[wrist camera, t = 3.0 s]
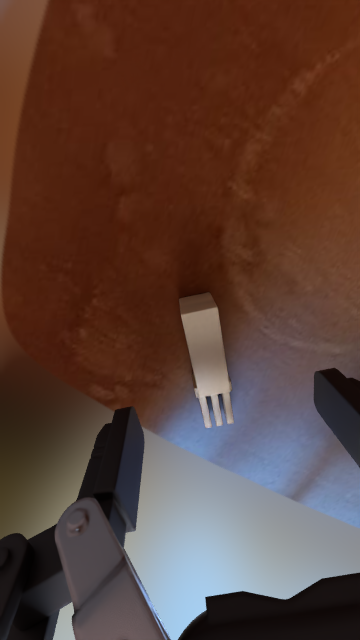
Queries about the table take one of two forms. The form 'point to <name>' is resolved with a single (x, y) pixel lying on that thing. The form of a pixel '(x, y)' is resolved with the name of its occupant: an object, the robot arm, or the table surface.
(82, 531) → the robot arm
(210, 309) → the fork
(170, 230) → the table surface
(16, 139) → the table surface
